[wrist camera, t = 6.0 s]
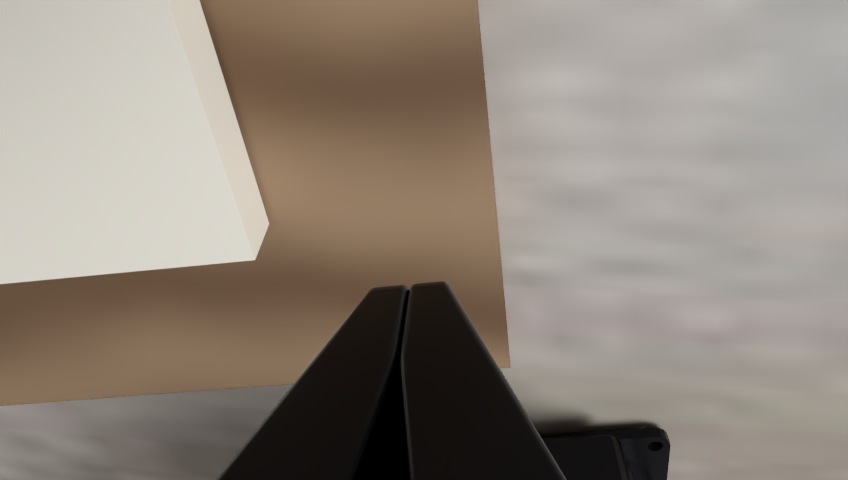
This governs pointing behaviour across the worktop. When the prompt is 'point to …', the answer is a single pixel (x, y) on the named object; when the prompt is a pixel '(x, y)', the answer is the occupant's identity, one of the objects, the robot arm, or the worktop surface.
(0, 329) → the board
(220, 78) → the block
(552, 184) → the worktop surface
